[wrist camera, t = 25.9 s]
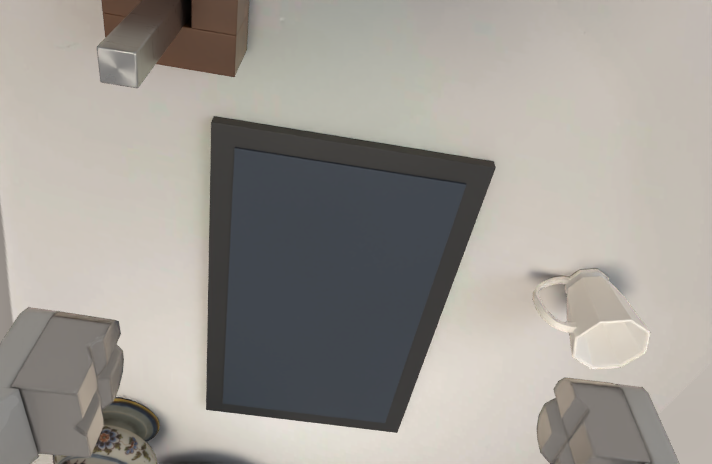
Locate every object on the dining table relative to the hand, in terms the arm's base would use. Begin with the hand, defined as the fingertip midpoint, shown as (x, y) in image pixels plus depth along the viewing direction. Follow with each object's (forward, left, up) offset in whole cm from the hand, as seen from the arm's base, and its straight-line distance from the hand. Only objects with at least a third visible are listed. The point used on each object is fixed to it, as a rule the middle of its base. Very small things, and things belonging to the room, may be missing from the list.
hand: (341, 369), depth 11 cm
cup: (+28, +26, -37) cm, 53 cm away
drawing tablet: (+36, +2, -37) cm, 52 cm away
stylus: (+6, -12, -37) cm, 39 cm away
